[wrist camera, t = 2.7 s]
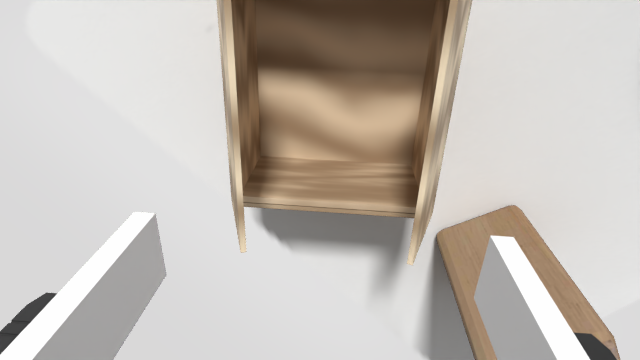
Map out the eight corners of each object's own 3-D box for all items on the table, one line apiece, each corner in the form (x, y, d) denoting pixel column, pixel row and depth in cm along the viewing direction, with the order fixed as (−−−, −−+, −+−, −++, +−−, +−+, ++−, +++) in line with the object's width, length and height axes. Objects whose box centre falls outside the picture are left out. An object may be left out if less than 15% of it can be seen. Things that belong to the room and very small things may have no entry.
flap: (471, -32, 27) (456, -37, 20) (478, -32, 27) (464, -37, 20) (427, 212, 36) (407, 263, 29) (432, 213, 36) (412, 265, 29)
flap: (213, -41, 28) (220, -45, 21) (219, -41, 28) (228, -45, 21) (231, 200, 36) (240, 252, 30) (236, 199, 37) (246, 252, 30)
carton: (247, -47, 37) (213, -55, 28) (447, -40, 36) (478, -46, 27) (256, 162, 46) (233, 205, 37) (414, 171, 45) (429, 218, 36)
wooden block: (538, 263, 50) (642, 422, 32) (459, 288, 52) (514, 448, 34) (516, 199, 46) (619, 338, 28) (432, 229, 49) (478, 374, 31)
